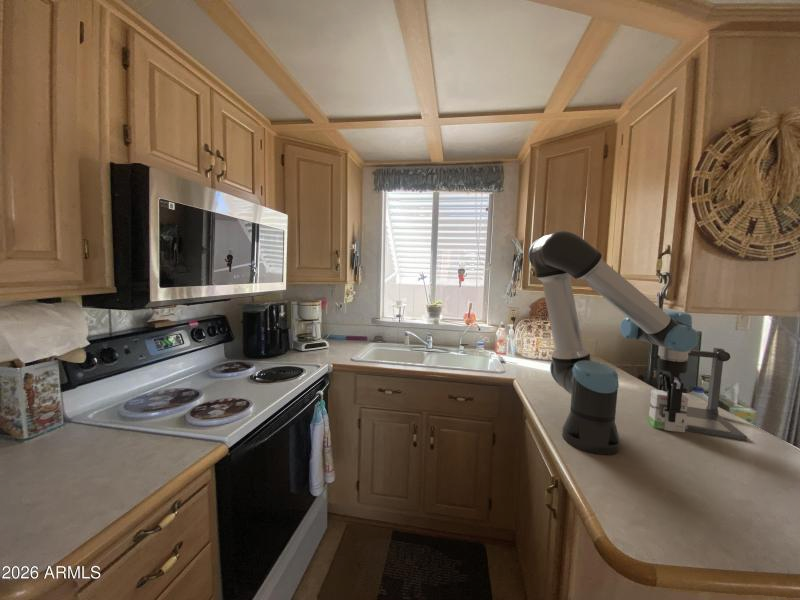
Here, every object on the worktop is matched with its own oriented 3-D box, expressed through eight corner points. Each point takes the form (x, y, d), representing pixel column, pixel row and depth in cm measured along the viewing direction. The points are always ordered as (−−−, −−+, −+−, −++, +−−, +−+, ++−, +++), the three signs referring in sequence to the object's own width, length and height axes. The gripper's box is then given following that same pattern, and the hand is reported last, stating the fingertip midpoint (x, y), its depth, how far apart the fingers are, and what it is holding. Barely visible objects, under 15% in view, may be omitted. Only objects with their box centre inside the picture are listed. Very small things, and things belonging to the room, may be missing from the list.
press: (746, 441, 99) (755, 362, 97) (687, 430, 105) (694, 356, 103) (712, 414, 119) (720, 347, 116) (664, 406, 124) (670, 343, 122)
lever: (730, 362, 111) (731, 352, 111) (670, 356, 118) (671, 346, 117) (725, 360, 114) (726, 350, 114) (667, 354, 121) (668, 345, 120)
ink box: (653, 428, 107) (657, 394, 106) (647, 421, 111) (650, 389, 110) (685, 433, 104) (689, 397, 103) (678, 426, 108) (681, 392, 107)
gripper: (699, 367, 96) (692, 441, 98) (676, 353, 112) (669, 417, 114) (668, 364, 99) (661, 436, 101) (650, 351, 115) (644, 413, 117)
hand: (666, 426), depth 108 cm, fingers closed on ink box, 5 cm apart
